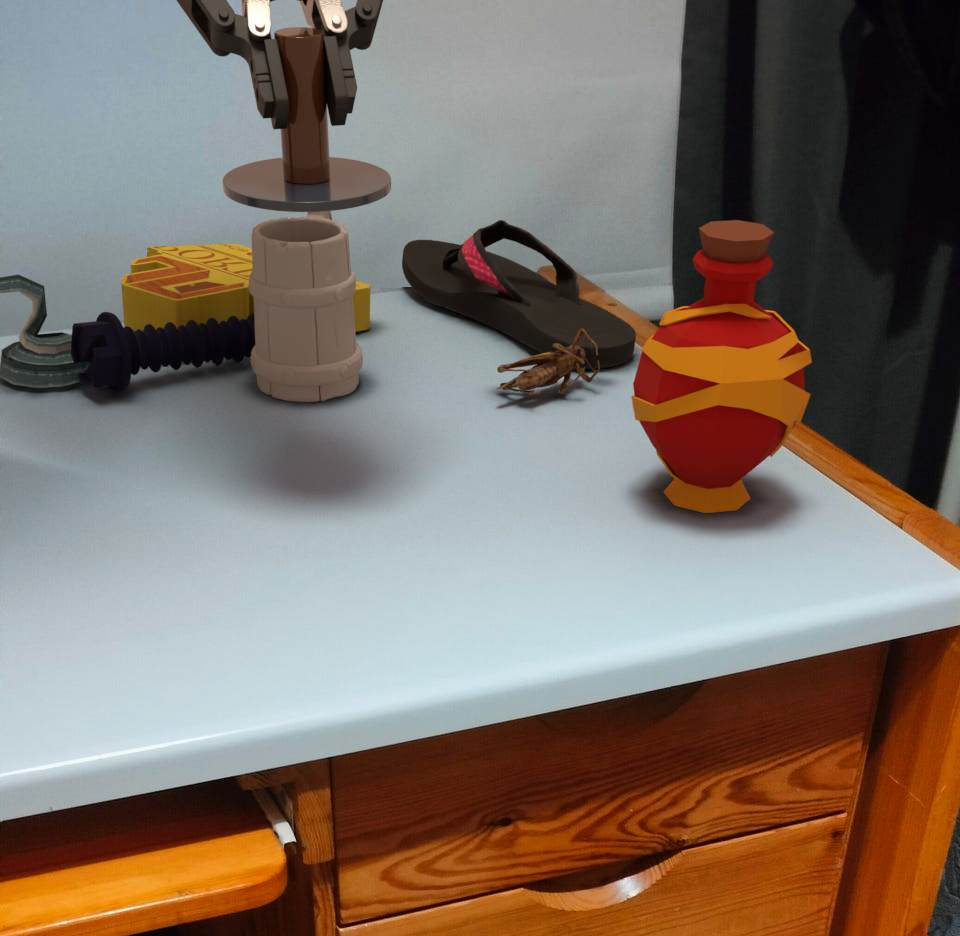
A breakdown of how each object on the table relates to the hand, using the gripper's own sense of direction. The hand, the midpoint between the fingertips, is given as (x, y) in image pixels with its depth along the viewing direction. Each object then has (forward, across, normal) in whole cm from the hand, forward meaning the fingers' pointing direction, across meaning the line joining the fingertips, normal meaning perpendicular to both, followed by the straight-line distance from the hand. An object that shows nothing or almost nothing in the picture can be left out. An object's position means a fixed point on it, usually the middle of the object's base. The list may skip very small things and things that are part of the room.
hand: (311, 116), depth 87 cm
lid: (+1, 0, +4) cm, 4 cm away
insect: (+6, +19, +19) cm, 28 cm away
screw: (0, -4, +28) cm, 28 cm away
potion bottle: (+20, +22, +9) cm, 31 cm away
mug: (+1, +3, +28) cm, 28 cm away
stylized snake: (-3, -13, +31) cm, 34 cm away
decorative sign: (-12, +4, +39) cm, 41 cm away
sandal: (-5, +21, +33) cm, 40 cm away
